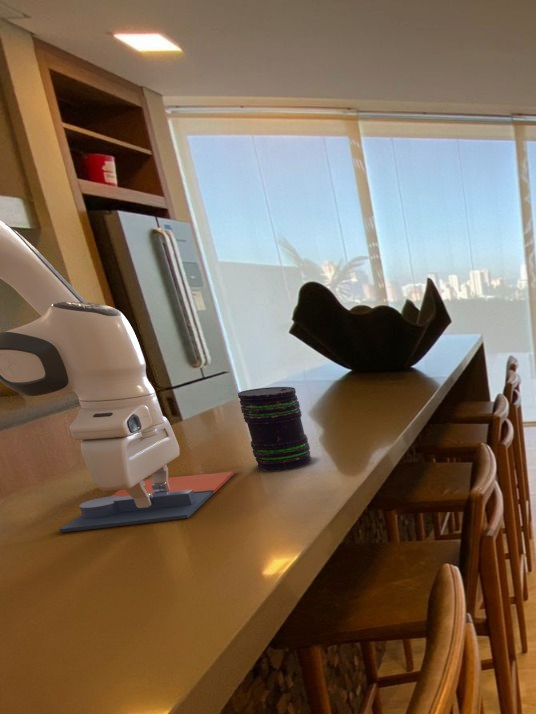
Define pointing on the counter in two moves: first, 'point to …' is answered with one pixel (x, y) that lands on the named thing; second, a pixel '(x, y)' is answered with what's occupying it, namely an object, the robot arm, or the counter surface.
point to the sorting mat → (202, 491)
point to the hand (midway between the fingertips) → (154, 499)
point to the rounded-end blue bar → (127, 503)
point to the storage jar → (275, 428)
